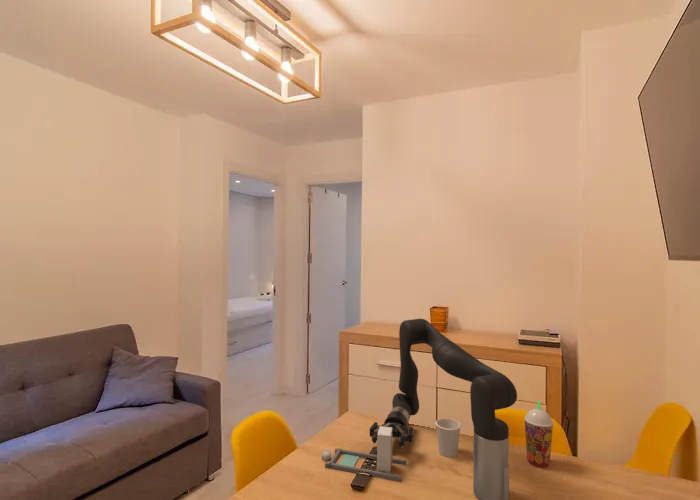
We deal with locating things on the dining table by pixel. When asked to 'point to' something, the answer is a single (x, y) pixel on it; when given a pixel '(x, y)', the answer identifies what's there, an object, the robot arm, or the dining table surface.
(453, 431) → the dixie cup
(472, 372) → the robot arm
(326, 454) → the guide channel
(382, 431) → the skincare box
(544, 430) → the smoothie
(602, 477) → the dining table surface
